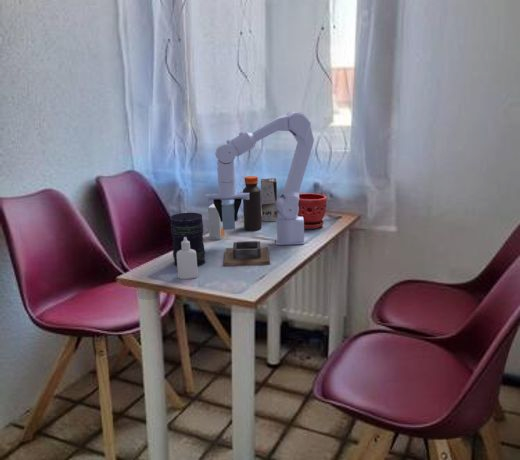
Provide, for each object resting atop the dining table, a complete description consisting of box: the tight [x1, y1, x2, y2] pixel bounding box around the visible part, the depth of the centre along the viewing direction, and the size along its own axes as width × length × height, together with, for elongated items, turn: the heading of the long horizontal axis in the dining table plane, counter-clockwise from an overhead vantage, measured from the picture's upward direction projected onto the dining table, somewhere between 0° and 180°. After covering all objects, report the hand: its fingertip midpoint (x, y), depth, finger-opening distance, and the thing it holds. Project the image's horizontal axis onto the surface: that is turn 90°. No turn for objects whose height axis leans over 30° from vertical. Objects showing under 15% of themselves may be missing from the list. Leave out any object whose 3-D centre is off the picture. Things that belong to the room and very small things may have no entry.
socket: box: [223, 240, 271, 267], centre depth 152 cm, size 14×14×4 cm
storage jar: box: [169, 212, 206, 268], centre depth 147 cm, size 10×10×15 cm
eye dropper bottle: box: [176, 237, 199, 280], centre depth 136 cm, size 4×6×12 cm
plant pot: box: [297, 192, 328, 230], centre depth 183 cm, size 13×13×12 cm
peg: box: [222, 202, 236, 231], centre depth 161 cm, size 4×4×8 cm
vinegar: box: [242, 175, 263, 232], centre depth 181 cm, size 7×7×20 cm
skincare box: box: [207, 203, 226, 241], centre depth 172 cm, size 6×4×12 cm
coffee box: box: [260, 178, 278, 222], centre depth 195 cm, size 9×6×16 cm
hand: (228, 220), depth 161 cm, fingers closed on peg, 4 cm apart
